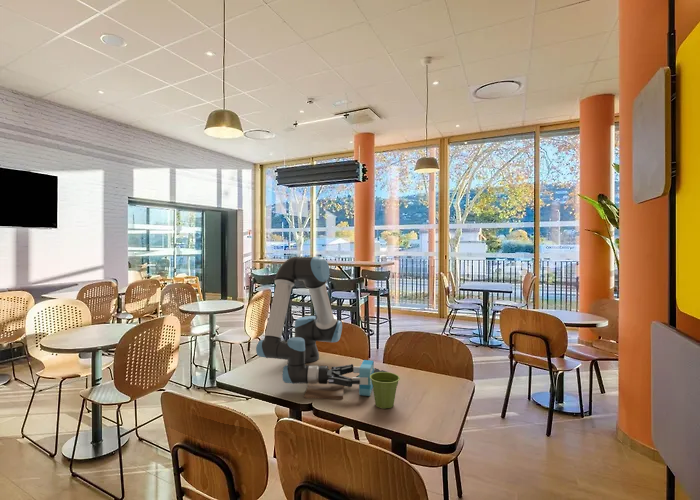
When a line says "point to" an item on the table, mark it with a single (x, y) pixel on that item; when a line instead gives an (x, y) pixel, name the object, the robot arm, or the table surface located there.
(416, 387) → the table surface
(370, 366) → the light blue box
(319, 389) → the board
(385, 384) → the plant pot
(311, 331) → the robot arm
